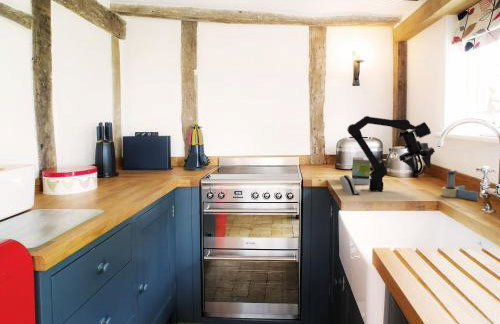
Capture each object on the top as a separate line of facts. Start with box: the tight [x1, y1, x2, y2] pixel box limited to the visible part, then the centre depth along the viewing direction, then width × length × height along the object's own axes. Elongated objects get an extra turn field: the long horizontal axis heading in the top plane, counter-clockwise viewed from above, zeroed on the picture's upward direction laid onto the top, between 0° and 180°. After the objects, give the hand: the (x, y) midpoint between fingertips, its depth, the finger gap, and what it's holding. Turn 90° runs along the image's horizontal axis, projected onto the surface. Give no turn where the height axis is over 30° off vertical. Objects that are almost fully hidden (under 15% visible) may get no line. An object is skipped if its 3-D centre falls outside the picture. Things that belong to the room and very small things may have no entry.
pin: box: [446, 169, 457, 189], centre depth 186 cm, size 4×4×13 cm
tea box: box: [351, 156, 371, 186], centre depth 223 cm, size 15×10×15 cm, turn 165°
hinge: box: [339, 174, 361, 196], centre depth 195 cm, size 17×5×10 cm, turn 179°
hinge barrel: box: [441, 184, 479, 202], centre depth 186 cm, size 13×19×4 cm
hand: (422, 169), depth 194 cm, fingers open, 9 cm apart
